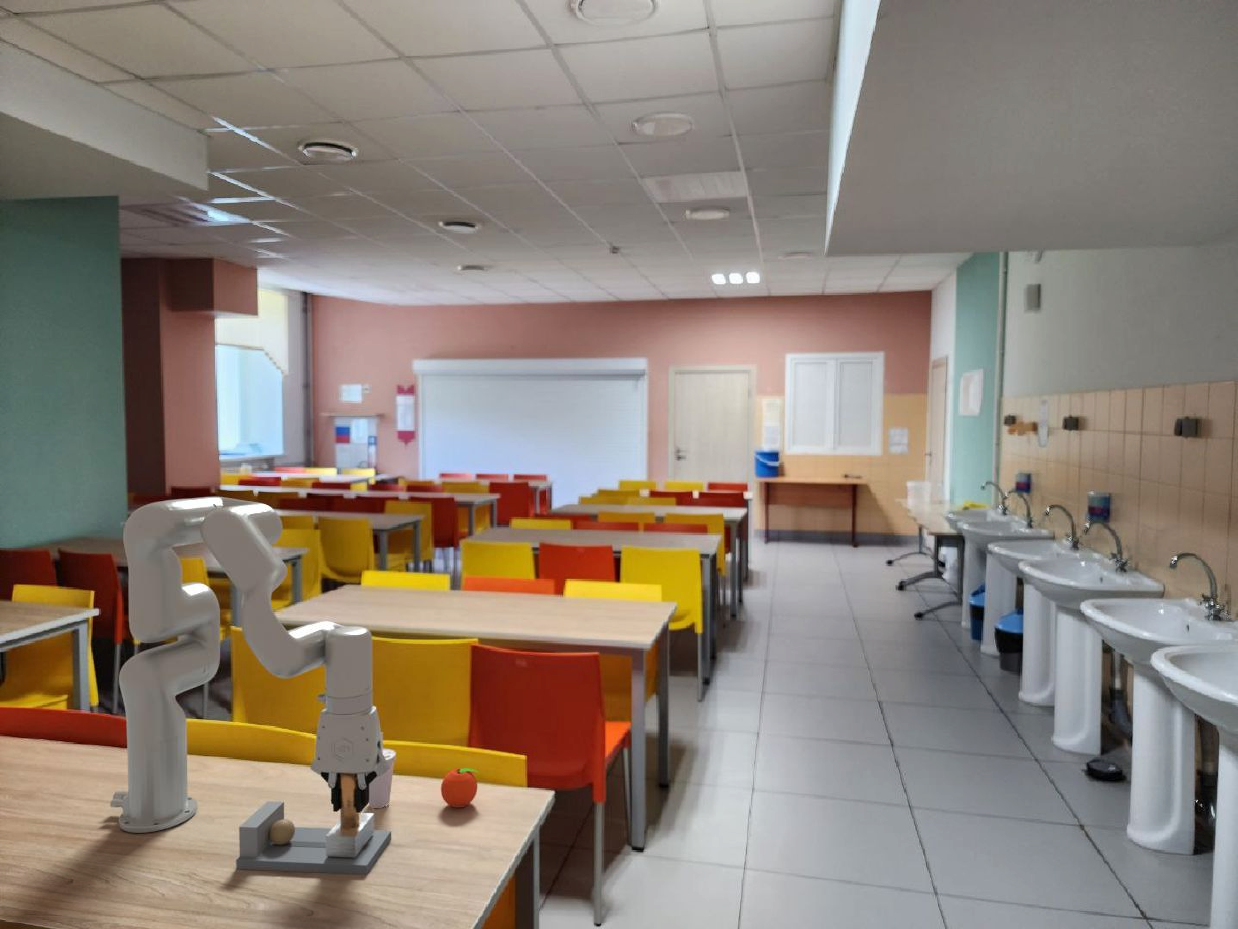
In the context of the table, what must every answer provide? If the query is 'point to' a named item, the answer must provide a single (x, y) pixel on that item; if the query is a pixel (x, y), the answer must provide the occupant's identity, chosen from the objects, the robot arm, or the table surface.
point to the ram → (349, 822)
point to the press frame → (298, 846)
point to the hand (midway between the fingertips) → (350, 807)
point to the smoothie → (382, 782)
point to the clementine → (459, 787)
